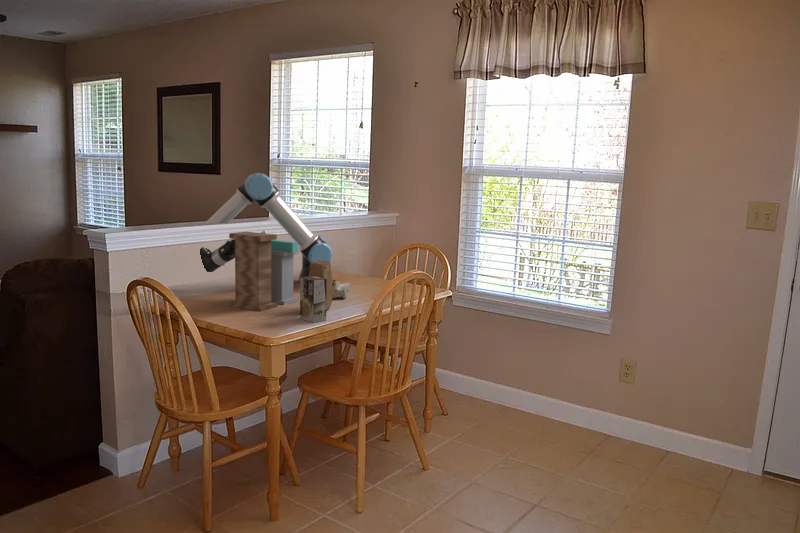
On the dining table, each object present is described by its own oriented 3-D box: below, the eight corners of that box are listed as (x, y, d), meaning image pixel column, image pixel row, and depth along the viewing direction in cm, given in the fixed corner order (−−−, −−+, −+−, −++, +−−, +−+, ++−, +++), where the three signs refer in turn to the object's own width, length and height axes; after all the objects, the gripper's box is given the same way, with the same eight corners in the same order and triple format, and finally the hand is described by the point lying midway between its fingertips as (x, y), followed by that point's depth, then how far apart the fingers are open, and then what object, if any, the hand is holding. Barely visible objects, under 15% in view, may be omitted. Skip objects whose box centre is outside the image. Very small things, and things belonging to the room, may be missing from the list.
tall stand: (230, 306, 253) (229, 233, 249) (246, 302, 262) (245, 231, 258) (261, 311, 246) (260, 236, 242) (276, 306, 255) (276, 234, 251)
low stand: (254, 300, 267) (254, 249, 263) (269, 296, 275) (269, 247, 272) (284, 304, 260) (284, 252, 256) (298, 300, 268) (298, 250, 265)
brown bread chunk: (323, 313, 247) (323, 263, 244) (306, 311, 249) (306, 262, 246) (334, 307, 257) (335, 260, 254) (318, 305, 259) (318, 258, 256)
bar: (240, 246, 270) (240, 237, 270) (246, 246, 274) (246, 237, 273) (292, 252, 258) (292, 242, 257) (298, 251, 262) (298, 242, 261)
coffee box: (327, 320, 235) (327, 278, 233) (313, 322, 231) (313, 280, 228) (312, 315, 242) (313, 275, 239) (299, 318, 237) (299, 276, 235)
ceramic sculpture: (351, 280, 271) (316, 283, 268) (351, 300, 272) (317, 302, 269) (348, 276, 281) (315, 279, 278) (349, 295, 282) (316, 297, 279)
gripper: (246, 258, 288) (278, 239, 279) (207, 265, 266) (240, 244, 257) (239, 244, 289) (271, 224, 279) (200, 249, 267) (233, 228, 257)
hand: (256, 233), depth 268 cm, fingers open, 13 cm apart
